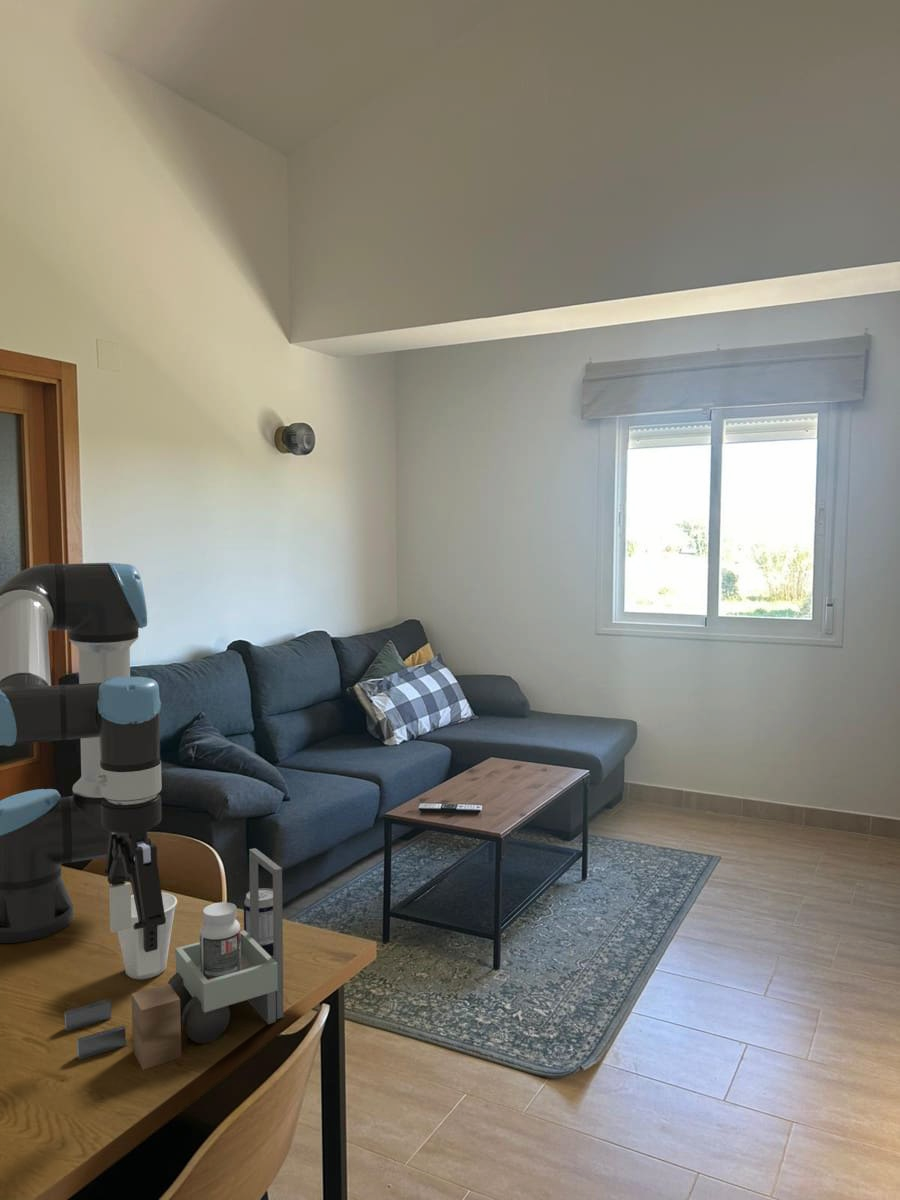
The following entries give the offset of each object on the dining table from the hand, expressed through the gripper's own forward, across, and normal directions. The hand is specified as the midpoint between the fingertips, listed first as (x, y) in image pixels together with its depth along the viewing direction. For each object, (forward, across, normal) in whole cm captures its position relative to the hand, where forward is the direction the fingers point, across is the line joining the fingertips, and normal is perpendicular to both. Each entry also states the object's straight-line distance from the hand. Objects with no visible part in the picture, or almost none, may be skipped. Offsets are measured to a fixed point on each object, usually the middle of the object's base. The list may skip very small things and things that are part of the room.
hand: (134, 950), depth 117 cm
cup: (+15, -21, +7) cm, 27 cm away
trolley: (+14, -1, +13) cm, 19 cm away
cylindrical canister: (+15, -12, +23) cm, 30 cm away
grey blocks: (+14, -6, -4) cm, 16 cm away
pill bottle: (+8, -1, +12) cm, 15 cm away
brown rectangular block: (+14, +3, +2) cm, 14 cm away
